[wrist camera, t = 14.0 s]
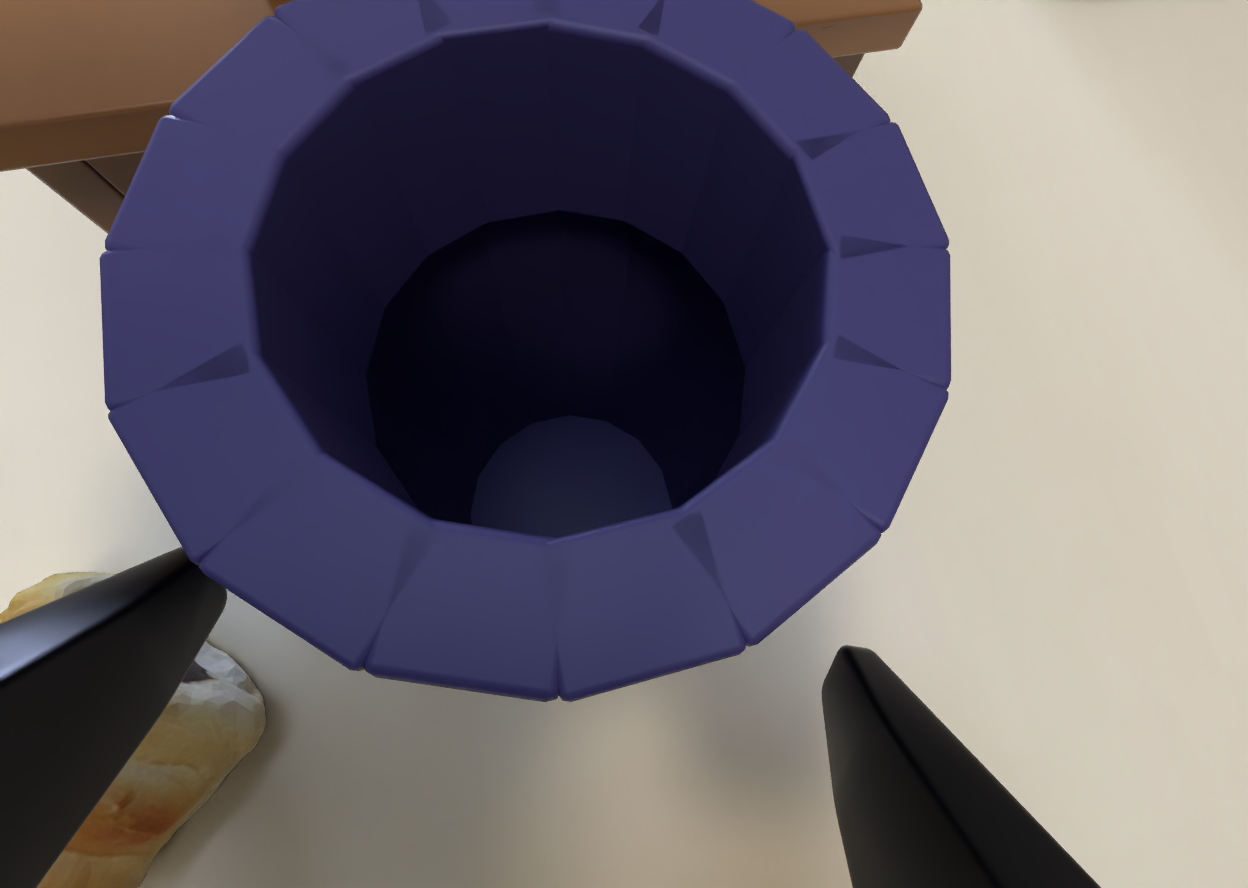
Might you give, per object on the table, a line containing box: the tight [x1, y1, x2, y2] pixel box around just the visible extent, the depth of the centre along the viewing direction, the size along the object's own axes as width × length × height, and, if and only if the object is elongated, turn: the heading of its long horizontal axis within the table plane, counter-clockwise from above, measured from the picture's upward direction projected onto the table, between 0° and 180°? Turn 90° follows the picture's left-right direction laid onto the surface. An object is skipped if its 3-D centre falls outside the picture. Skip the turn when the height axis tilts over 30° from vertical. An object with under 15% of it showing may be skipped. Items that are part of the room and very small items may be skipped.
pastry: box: [0, 572, 266, 888], centre depth 12 cm, size 9×7×4 cm
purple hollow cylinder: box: [100, 0, 951, 702], centre depth 11 cm, size 6×6×13 cm
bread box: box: [26, 53, 865, 233], centre depth 16 cm, size 14×15×9 cm
